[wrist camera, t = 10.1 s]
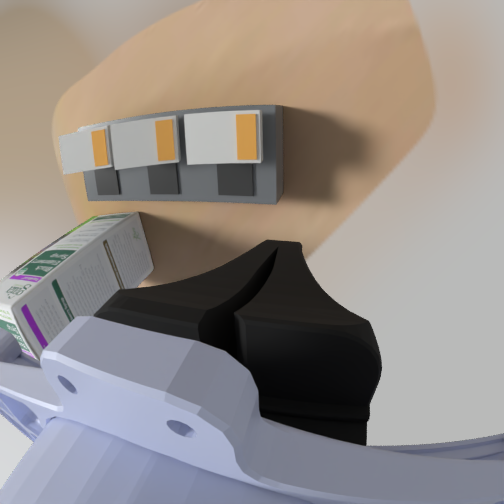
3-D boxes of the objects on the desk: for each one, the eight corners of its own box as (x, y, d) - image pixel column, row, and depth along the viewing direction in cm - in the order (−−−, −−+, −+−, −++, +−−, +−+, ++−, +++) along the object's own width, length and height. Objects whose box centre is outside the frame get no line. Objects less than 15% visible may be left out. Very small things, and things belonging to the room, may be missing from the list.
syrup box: (139, 209, 25) (6, 303, 12) (157, 270, 27) (54, 383, 14) (93, 215, 26) (-26, 295, 14) (111, 270, 29) (12, 363, 16)
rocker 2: (181, 159, 18) (178, 162, 17) (120, 166, 18) (114, 170, 17) (178, 115, 17) (175, 115, 16) (116, 123, 16) (109, 125, 15)
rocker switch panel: (283, 191, 21) (274, 208, 18) (110, 190, 24) (82, 203, 21) (282, 105, 18) (273, 104, 15) (102, 123, 22) (71, 129, 19)
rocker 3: (263, 159, 16) (260, 163, 15) (194, 161, 17) (186, 165, 16) (262, 109, 15) (259, 109, 14) (191, 113, 16) (183, 114, 15)
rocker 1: (118, 163, 19) (111, 167, 18) (71, 170, 19) (62, 175, 18) (114, 124, 18) (106, 125, 17) (67, 134, 18) (57, 136, 17)
